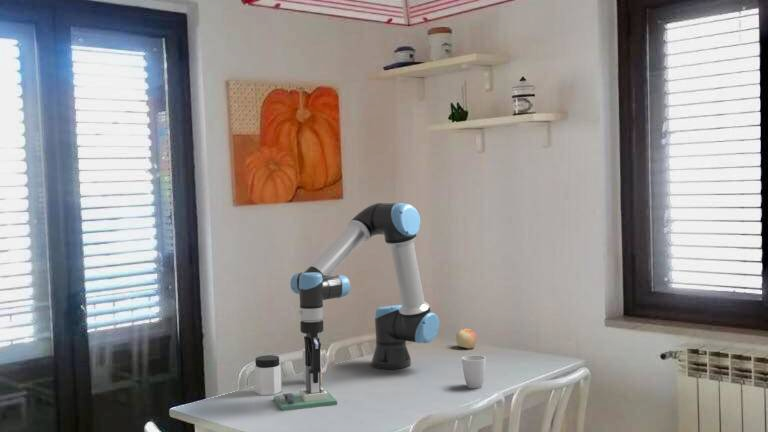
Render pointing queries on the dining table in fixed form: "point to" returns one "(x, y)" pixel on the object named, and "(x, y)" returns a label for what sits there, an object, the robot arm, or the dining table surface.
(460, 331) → the apple
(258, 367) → the jar
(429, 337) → the robot arm
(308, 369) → the plug
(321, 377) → the mug
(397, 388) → the dining table surface
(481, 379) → the cup
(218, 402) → the dining table surface
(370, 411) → the dining table surface
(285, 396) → the board
